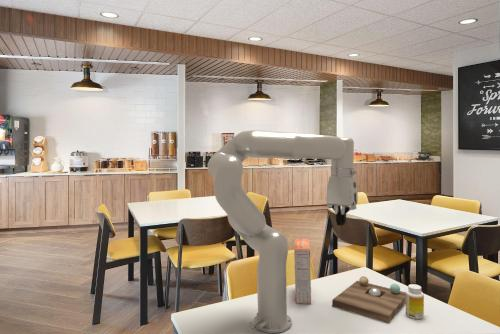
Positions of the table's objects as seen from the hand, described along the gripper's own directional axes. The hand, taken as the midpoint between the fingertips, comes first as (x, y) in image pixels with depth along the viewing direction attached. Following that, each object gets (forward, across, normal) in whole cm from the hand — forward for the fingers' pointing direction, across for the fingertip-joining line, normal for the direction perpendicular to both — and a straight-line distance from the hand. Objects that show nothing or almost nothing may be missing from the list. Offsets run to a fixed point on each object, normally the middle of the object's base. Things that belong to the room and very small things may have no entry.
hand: (340, 224), depth 126 cm
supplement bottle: (+30, -23, -10) cm, 39 cm away
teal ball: (+25, -13, -19) cm, 34 cm away
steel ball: (+27, -8, -14) cm, 32 cm away
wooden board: (+30, -7, -11) cm, 33 cm away
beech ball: (+25, -1, -18) cm, 31 cm away
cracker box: (+31, +15, 0) cm, 34 cm away
